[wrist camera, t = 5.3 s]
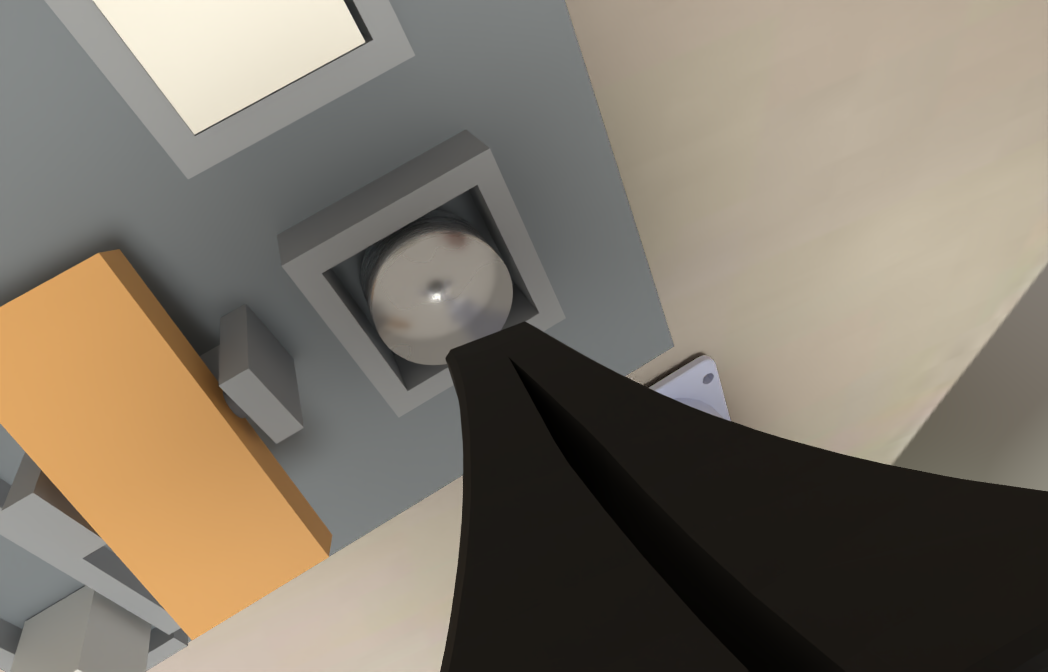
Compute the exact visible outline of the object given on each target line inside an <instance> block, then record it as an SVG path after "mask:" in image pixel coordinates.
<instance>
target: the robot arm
mask: <svg viewBox="0 0 1048 672" xmlns="http://www.w3.org/2000/svg"><path fill="white" fill-rule="evenodd" d="M445 359H446V362H447V365H448V369H449V372H450V375H451V378H452V381H453V384H454V387H455V390H456V394H457V397H458V401H459V407H460V417H461V429H462V441H463V506H462V524H461V537H460V548H459V558H458V567H457V574H456V582H455V589H454V597H453V604H452V611H451V617H450V623H449V629H448V635H447V641H446V646H445V651H444V656H443V661H442V666H441V670H440V672H1048V491H1041V490H1034V489H1027V488H1020V487H1013V486H1006V485H999V484H992V483H984V482H977V481H971V480H964V479H959V478H953V477H947V476H942V475H937V474H932V473H927V472H922V471H917V470H912V469H907V468H901V467H897V466H892V465H887V464H882V463H878V462H873V461H869V460H865V459H860V458H856V457H851V456H847V455H843V454H839V453H835V452H832V451H828V450H824V449H821V448H817V447H813V446H809V445H806V444H802V443H798V442H794V441H791V440H787V439H784V438H780V437H777V436H774V435H771V434H767V433H764V432H761V431H758V430H755V429H752V428H749V427H746V426H743V425H740V424H737V423H734V422H732V421H731V420H730V416H729V412H728V408H727V404H726V401H725V397H724V393H723V389H722V386H721V382H720V378H719V374H718V371H717V367H716V363H715V362H714V360H713V359H712V358H710V357H709V356H707V355H702V356H700V357H698V358H696V359H694V360H693V361H691V362H690V363H688V364H686V365H685V366H683V367H681V368H680V369H678V370H676V371H675V372H673V373H672V374H670V375H668V376H667V377H665V378H663V379H662V380H660V381H659V382H657V383H655V384H654V385H652V386H650V387H649V388H648V387H645V386H643V385H641V384H639V383H637V382H635V381H633V380H631V379H629V378H627V377H625V376H623V375H621V374H619V373H617V372H615V371H613V370H611V369H609V368H607V367H605V366H603V365H602V364H600V363H598V362H596V361H594V360H592V359H590V358H589V357H587V356H585V355H583V354H581V353H580V352H578V351H576V350H574V349H573V348H571V347H569V346H567V345H566V344H564V343H562V342H560V341H559V340H557V339H555V338H553V337H552V336H550V335H548V334H547V333H545V332H543V331H542V330H540V329H538V328H536V327H535V326H533V325H531V324H529V323H527V322H525V321H524V322H522V323H519V324H516V325H514V326H511V327H508V328H506V329H503V330H501V331H498V332H495V333H493V334H490V335H487V336H485V337H482V338H480V339H477V340H474V341H472V342H469V343H466V344H464V345H461V346H459V347H456V348H453V349H451V350H450V351H449V353H448V355H447V356H446V358H445ZM704 376H705V377H704Z"/></svg>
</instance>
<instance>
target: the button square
mask: <svg viewBox="0 0 1048 672" xmlns="http://www.w3.org/2000/svg"><path fill="white" fill-rule="evenodd" d="M93 1H94V3H95V4H96V5H97V7H98V8H99V9H100V10H101V12H102V13H103V14H104V16H105V17H106V18H107V20H108V21H109V22H110V24H111V25H112V26H113V28H114V29H115V30H116V32H117V33H118V34H119V36H120V37H121V38H122V40H123V41H124V42H125V44H126V45H127V46H128V47H129V49H130V50H131V51H132V53H133V54H134V55H135V57H136V58H137V59H138V61H139V62H140V63H141V65H142V66H143V67H144V69H145V70H146V71H147V73H148V74H149V75H150V77H151V78H152V79H153V81H154V82H155V83H156V84H157V86H158V87H159V88H160V90H161V91H162V92H163V94H164V95H165V96H166V98H167V99H168V100H169V102H170V103H171V104H172V106H173V107H174V108H175V110H176V111H177V112H178V114H179V115H180V116H181V117H182V119H183V120H184V121H185V123H186V124H187V125H188V127H189V128H190V129H191V131H192V132H193V133H194V135H195V134H197V133H198V132H200V131H202V130H204V129H206V128H208V127H210V126H211V125H213V124H215V123H217V122H219V121H221V120H223V119H224V118H226V117H228V116H230V115H232V114H234V113H235V112H237V111H239V110H241V109H243V108H245V107H247V106H248V105H250V104H252V103H254V102H256V101H258V100H260V99H261V98H263V97H265V96H267V95H269V94H271V93H273V92H274V91H276V90H278V89H280V88H282V87H284V86H285V85H287V84H289V83H291V82H293V81H295V80H297V79H298V78H300V77H302V76H304V75H306V74H308V73H310V72H311V71H313V70H315V69H317V68H319V67H321V66H322V65H324V64H326V63H328V62H330V61H332V60H334V59H335V58H337V57H339V56H341V55H343V54H345V53H347V52H348V51H350V50H352V49H354V48H356V47H358V46H359V45H361V44H363V43H365V40H364V38H363V37H362V35H361V33H360V31H359V29H358V27H357V25H356V23H355V21H354V19H353V17H352V15H351V14H350V12H349V10H348V8H347V6H346V4H345V2H344V0H93Z"/></svg>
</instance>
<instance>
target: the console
mask: <svg viewBox="0 0 1048 672" xmlns="http://www.w3.org/2000/svg"><path fill="white" fill-rule="evenodd" d="M344 2H345V4H346V6H347V8H348V10H349V12H350V14H351V15H352V17H353V19H354V21H355V23H356V25H357V27H358V29H359V31H360V33H361V35H362V37H363V38H364V40H365V43H363V44H361V45H359V46H358V47H356V48H354V49H352V50H350V51H348V52H347V53H345V54H343V55H341V56H339V57H337V58H335V59H334V60H332V61H330V62H328V63H326V64H324V65H322V66H321V67H319V68H317V69H315V70H313V71H311V72H310V73H308V74H306V75H304V76H302V77H300V78H298V79H297V80H295V81H293V82H291V83H289V84H287V85H285V86H284V87H282V88H280V89H278V90H276V91H274V92H273V93H271V94H269V95H267V96H265V97H263V98H261V99H260V100H258V101H256V102H254V103H252V104H250V105H248V106H247V107H245V108H243V109H241V110H239V111H237V112H235V113H234V114H232V115H230V116H228V117H226V118H224V119H223V120H221V121H219V122H217V123H215V124H213V125H211V126H210V127H208V128H206V129H204V130H202V131H200V132H198V133H197V134H195V135H194V133H193V132H192V131H191V129H190V128H189V127H188V125H187V124H186V123H185V121H184V120H183V119H182V117H181V116H180V115H179V114H178V112H177V111H176V110H175V108H174V107H173V106H172V104H171V103H170V102H169V100H168V99H167V98H166V96H165V95H164V94H163V92H162V91H161V90H160V88H159V87H158V86H157V84H156V83H155V82H154V81H153V79H152V78H151V77H150V75H149V74H148V73H147V71H146V70H145V69H144V67H143V66H142V65H141V63H140V62H139V61H138V59H137V58H136V57H135V55H134V54H133V53H132V51H131V50H130V49H129V47H128V46H127V45H126V44H125V42H124V41H123V40H122V38H121V37H120V36H119V34H118V33H117V32H116V30H115V29H114V28H113V26H112V25H111V24H110V22H109V21H108V20H107V18H106V17H105V16H104V14H103V13H102V12H101V10H100V9H99V8H98V7H97V5H96V4H95V3H94V1H93V0H0V307H1V306H3V305H5V304H6V303H8V302H10V301H12V300H14V299H16V298H17V297H19V296H21V295H23V294H25V293H26V292H28V291H30V290H32V289H34V288H36V287H37V286H39V285H41V284H43V283H45V282H46V281H48V280H50V279H52V278H54V277H56V276H57V275H59V274H61V273H63V272H65V271H66V270H68V269H70V268H72V267H74V266H76V265H77V264H79V263H81V262H83V261H85V260H87V259H88V258H90V257H92V256H94V255H96V254H97V253H100V252H106V251H111V250H117V249H120V250H121V252H122V253H123V254H124V256H125V257H126V258H127V260H128V261H129V262H130V264H131V265H132V267H133V268H134V269H135V271H136V272H137V273H138V275H139V276H140V277H141V279H142V280H143V281H144V283H145V284H146V285H147V287H148V288H149V289H150V291H151V292H152V293H153V295H154V296H155V297H156V299H157V300H158V301H159V303H160V304H161V305H162V307H163V308H164V309H165V311H166V312H167V314H168V315H169V316H170V318H171V319H172V320H173V322H174V323H175V324H176V326H177V327H178V328H179V330H180V331H181V332H182V334H183V335H184V336H185V338H186V339H187V340H188V342H189V343H190V344H191V346H192V347H193V348H194V350H195V351H196V352H197V354H198V355H199V356H200V358H201V359H202V361H203V362H204V363H205V365H206V366H207V367H208V369H209V370H210V371H211V373H212V374H213V375H214V377H215V378H216V379H217V381H218V382H219V387H220V388H221V389H222V390H223V391H224V392H225V393H226V394H227V395H228V396H229V397H230V398H231V399H232V400H233V401H234V402H235V403H236V404H237V405H238V406H239V407H240V408H241V409H242V410H243V411H244V412H245V413H246V414H247V415H248V416H247V417H245V418H246V420H247V421H248V422H249V424H250V425H251V426H252V428H253V429H254V430H255V432H256V433H257V434H258V436H259V437H260V438H261V440H262V441H263V442H264V444H265V445H266V446H267V448H268V449H269V450H270V452H271V453H272V454H273V456H274V457H275V459H276V460H277V461H278V463H279V464H280V465H281V467H282V468H283V469H284V471H285V472H286V473H287V475H288V476H289V477H290V479H291V480H292V481H293V483H294V484H295V485H296V487H297V488H298V489H299V491H300V492H301V493H302V495H303V496H304V497H305V499H306V500H307V501H308V503H309V504H310V506H311V507H312V508H313V510H314V511H315V512H316V514H317V515H318V516H319V518H320V519H321V520H322V522H323V523H324V524H325V526H326V527H327V528H328V530H329V531H330V532H331V534H332V541H331V547H330V553H329V556H331V555H333V554H334V553H336V552H337V551H339V550H341V549H342V548H344V547H346V546H347V545H349V544H351V543H352V542H354V541H356V540H357V539H359V538H360V537H362V536H364V535H365V534H367V533H369V532H370V531H372V530H374V529H375V528H377V527H378V526H380V525H382V524H383V523H385V522H387V521H388V520H390V519H392V518H393V517H395V516H397V515H398V514H400V513H401V512H403V511H405V510H406V509H408V508H410V507H411V506H413V505H415V504H416V503H418V502H420V501H421V500H423V499H424V498H426V497H428V496H429V495H431V494H433V493H434V492H436V491H438V490H439V489H441V488H442V487H444V486H446V485H447V484H449V483H451V482H452V481H454V480H456V479H457V478H459V477H461V476H462V475H463V441H462V429H461V417H460V407H459V401H458V397H457V394H456V390H455V387H454V384H453V381H452V378H451V375H450V372H449V369H448V365H447V364H444V365H424V364H418V363H414V362H411V361H408V360H406V359H404V358H402V357H400V356H399V355H397V354H396V353H394V352H393V351H392V350H391V349H390V348H389V347H388V346H387V345H386V344H385V343H384V342H383V340H382V339H381V337H380V335H379V333H378V331H377V329H376V326H375V323H374V321H373V318H372V315H371V313H370V310H369V307H368V305H367V302H366V299H365V297H364V294H363V291H362V287H361V279H360V272H361V264H362V260H363V257H364V254H365V251H366V250H367V248H368V247H369V246H371V245H372V244H374V243H376V242H378V241H379V240H381V239H383V238H385V237H386V236H388V235H390V234H392V233H393V232H395V231H397V230H399V229H400V228H402V227H404V226H406V225H407V224H409V223H411V222H413V221H415V220H416V219H418V218H420V217H422V216H423V215H425V214H427V213H429V212H430V211H432V210H440V211H446V212H449V213H452V214H455V215H457V216H459V217H461V218H463V219H465V220H466V221H468V222H469V223H470V224H471V225H472V226H473V227H475V229H476V230H477V231H478V232H479V233H480V234H481V236H482V237H483V238H484V239H485V240H486V242H487V243H488V244H489V245H490V246H491V247H492V249H493V250H494V251H495V252H496V253H497V254H498V256H499V257H500V258H501V259H502V261H503V262H504V264H505V265H506V267H507V269H508V271H509V274H510V277H511V281H512V288H513V299H512V305H511V309H510V312H509V315H508V317H507V320H506V322H505V324H504V325H503V327H502V329H501V330H503V329H506V328H508V327H511V326H514V325H516V324H519V323H522V322H524V321H525V322H527V323H529V324H531V325H533V326H535V327H536V328H538V329H540V330H542V331H543V332H545V333H547V334H548V335H550V336H552V337H553V338H555V339H557V340H559V341H560V342H562V343H564V344H566V345H567V346H569V347H571V348H573V349H574V350H576V351H578V352H580V353H581V354H583V355H585V356H587V357H589V358H590V359H592V360H594V361H596V362H598V363H600V364H602V365H603V366H605V367H607V368H609V369H611V370H613V371H615V372H617V373H619V374H621V375H623V376H626V375H628V374H630V373H631V372H633V371H634V370H636V369H638V368H639V367H641V366H643V365H644V364H646V363H648V362H649V361H651V360H652V359H654V358H656V357H657V356H659V355H661V354H662V353H664V352H666V351H667V350H669V349H671V348H672V347H674V344H673V341H672V338H671V334H670V331H669V328H668V325H667V322H666V319H665V315H664V312H663V309H662V306H661V303H660V300H659V297H658V293H657V290H656V287H655V284H654V281H653V278H652V274H651V271H650V268H649V265H648V262H647V259H646V255H645V252H644V249H643V246H642V243H641V240H640V237H639V233H638V230H637V227H636V224H635V221H634V218H633V214H632V211H631V208H630V205H629V202H628V199H627V196H626V192H625V189H624V186H623V183H622V180H621V177H620V173H619V170H618V167H617V164H616V161H615V158H614V154H613V151H612V148H611V145H610V142H609V139H608V136H607V132H606V129H605V126H604V123H603V120H602V117H601V113H600V110H599V107H598V104H597V101H596V98H595V94H594V91H593V88H592V85H591V82H590V79H589V76H588V72H587V69H586V66H585V63H584V60H583V57H582V53H581V50H580V47H579V44H578V41H577V38H576V35H575V31H574V28H573V25H572V22H571V19H570V16H569V12H568V9H567V6H566V3H565V0H344ZM501 330H500V331H501ZM84 586H88V587H89V588H91V589H93V590H94V591H96V592H98V593H99V594H101V595H103V596H104V597H106V598H108V599H110V600H111V601H113V602H115V603H116V604H118V605H120V606H121V607H123V608H125V609H126V610H128V611H130V612H131V613H133V614H135V615H136V616H138V617H140V618H141V619H143V620H145V621H147V622H148V623H150V624H152V625H151V633H150V642H149V650H148V659H147V667H146V671H147V670H149V669H150V668H152V667H154V666H155V665H157V664H159V663H160V662H162V661H164V660H165V659H167V658H169V657H170V656H172V655H173V654H175V653H177V652H178V651H180V650H182V649H183V648H185V647H187V646H188V642H190V641H191V639H190V638H189V636H188V635H187V634H186V633H185V632H184V631H183V630H182V628H181V627H180V626H179V625H178V624H177V623H176V622H175V621H174V619H173V618H172V617H171V616H170V615H169V614H168V613H167V612H166V610H165V609H164V608H163V607H162V606H161V605H160V604H159V602H158V601H157V600H156V599H155V598H154V597H153V596H152V595H151V593H150V592H149V591H148V590H147V589H146V588H145V587H144V585H143V584H142V583H141V582H140V581H139V580H138V579H137V578H136V576H135V575H134V574H133V573H132V572H131V571H130V570H129V568H128V567H127V566H126V565H125V564H124V563H123V562H122V561H121V559H120V558H119V557H118V556H117V555H116V554H115V553H114V552H113V550H112V549H111V548H110V547H109V546H108V545H107V544H106V542H105V541H104V540H103V539H102V538H101V537H100V536H99V535H98V533H97V532H96V531H95V530H94V529H93V528H92V527H91V525H90V524H89V523H88V522H87V521H86V520H85V519H84V518H83V516H82V515H81V514H80V513H79V512H78V511H77V510H76V509H75V507H74V506H73V505H72V504H71V503H70V502H69V501H68V499H67V498H66V497H65V496H64V495H63V494H62V493H61V492H60V490H59V489H58V488H57V487H56V486H55V485H54V484H53V482H52V481H51V480H50V479H49V478H48V477H47V476H46V475H45V473H44V472H43V471H42V470H41V469H40V468H39V467H38V465H37V464H36V463H35V462H34V461H33V460H32V459H31V458H30V456H29V455H28V454H27V453H26V452H25V451H24V450H23V449H22V447H21V446H20V445H19V444H18V443H17V442H16V441H15V439H14V438H13V437H12V436H11V435H10V434H9V433H8V432H7V430H6V429H5V428H4V427H3V426H2V425H1V424H0V669H1V670H3V671H5V672H10V670H11V666H12V663H13V660H14V657H15V653H16V650H17V647H18V643H19V640H20V637H21V634H22V630H23V627H24V624H25V621H27V620H29V619H30V618H32V617H34V616H35V615H37V614H39V613H40V612H42V611H44V610H46V609H47V608H49V607H51V606H52V605H54V604H56V603H57V602H59V601H61V600H62V599H64V598H66V597H67V596H69V595H71V594H72V593H74V592H76V591H78V590H79V589H81V588H83V587H84Z"/></svg>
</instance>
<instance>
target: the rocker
mask: <svg viewBox="0 0 1048 672" xmlns="http://www.w3.org/2000/svg"><path fill="white" fill-rule="evenodd" d="M247 416H248V415H247V414H246V413H245V412H244V411H243V410H242V409H241V408H240V407H239V406H238V405H237V404H236V403H235V402H234V401H233V400H232V399H231V398H230V397H229V396H228V395H227V394H226V393H225V392H224V391H223V390H222V389H221V388H220V387H219V382H218V381H217V379H216V378H215V377H214V375H213V374H212V373H211V371H210V370H209V369H208V367H207V366H206V365H205V363H204V362H203V361H202V359H201V358H200V356H199V355H198V354H197V352H196V351H195V350H194V348H193V347H192V346H191V344H190V343H189V342H188V340H187V339H186V338H185V336H184V335H183V334H182V332H181V331H180V330H179V328H178V327H177V326H176V324H175V323H174V322H173V320H172V319H171V318H170V316H169V315H168V314H167V312H166V311H165V309H164V308H163V307H162V305H161V304H160V303H159V301H158V300H157V299H156V297H155V296H154V295H153V293H152V292H151V291H150V289H149V288H148V287H147V285H146V284H145V283H144V281H143V280H142V279H141V277H140V276H139V275H138V273H137V272H136V271H135V269H134V268H133V267H132V265H131V264H130V262H129V261H128V260H127V258H126V257H125V256H124V254H123V253H122V252H121V250H120V249H117V250H111V251H106V252H100V253H97V254H96V255H94V256H92V257H90V258H88V259H87V260H85V261H83V262H81V263H79V264H77V265H76V266H74V267H72V268H70V269H68V270H66V271H65V272H63V273H61V274H59V275H57V276H56V277H54V278H52V279H50V280H48V281H46V282H45V283H43V284H41V285H39V286H37V287H36V288H34V289H32V290H30V291H28V292H26V293H25V294H23V295H21V296H19V297H17V298H16V299H14V300H12V301H10V302H8V303H6V304H5V305H3V306H1V307H0V424H1V425H2V426H3V427H4V428H5V429H6V430H7V432H8V433H9V434H10V435H11V436H12V437H13V438H14V439H15V441H16V442H17V443H18V444H19V445H20V446H21V447H22V449H23V450H24V451H25V452H26V453H27V454H28V455H29V456H30V458H31V459H32V460H33V461H34V462H35V463H36V464H37V465H38V467H39V468H40V469H41V470H42V471H43V472H44V473H45V475H46V476H47V477H48V478H49V479H50V480H51V481H52V482H53V484H54V485H55V486H56V487H57V488H58V489H59V490H60V492H61V493H62V494H63V495H64V496H65V497H66V498H67V499H68V501H69V502H70V503H71V504H72V505H73V506H74V507H75V509H76V510H77V511H78V512H79V513H80V514H81V515H82V516H83V518H84V519H85V520H86V521H87V522H88V523H89V524H90V525H91V527H92V528H93V529H94V530H95V531H96V532H97V533H98V535H99V536H100V537H101V538H102V539H103V540H104V541H105V542H106V544H107V545H108V546H109V547H110V548H111V549H112V550H113V552H114V553H115V554H116V555H117V556H118V557H119V558H120V559H121V561H122V562H123V563H124V564H125V565H126V566H127V567H128V568H129V570H130V571H131V572H132V573H133V574H134V575H135V576H136V578H137V579H138V580H139V581H140V582H141V583H142V584H143V585H144V587H145V588H146V589H147V590H148V591H149V592H150V593H151V595H152V596H153V597H154V598H155V599H156V600H157V601H158V602H159V604H160V605H161V606H162V607H163V608H164V609H165V610H166V612H167V613H168V614H169V615H170V616H171V617H172V618H173V619H174V621H175V622H176V623H177V624H178V625H179V626H180V627H181V628H182V630H183V631H184V632H185V633H186V634H187V635H188V636H189V638H190V639H191V640H194V639H195V638H197V637H198V636H200V635H202V634H203V633H205V632H207V631H208V630H210V629H212V628H213V627H215V626H217V625H218V624H220V623H221V622H223V621H225V620H226V619H228V618H230V617H231V616H233V615H235V614H236V613H238V612H239V611H241V610H243V609H244V608H246V607H248V606H249V605H251V604H253V603H254V602H256V601H258V600H259V599H261V598H262V597H264V596H266V595H267V594H269V593H271V592H272V591H274V590H276V589H277V588H279V587H280V586H282V585H284V584H285V583H287V582H289V581H290V580H292V579H294V578H295V577H297V576H299V575H300V574H302V573H303V572H305V571H307V570H308V569H310V568H312V567H313V566H315V565H317V564H318V563H320V562H321V561H323V560H325V559H326V558H328V557H329V553H330V547H331V541H332V534H331V532H330V531H329V530H328V528H327V527H326V526H325V524H324V523H323V522H322V520H321V519H320V518H319V516H318V515H317V514H316V512H315V511H314V510H313V508H312V507H311V506H310V504H309V503H308V501H307V500H306V499H305V497H304V496H303V495H302V493H301V492H300V491H299V489H298V488H297V487H296V485H295V484H294V483H293V481H292V480H291V479H290V477H289V476H288V475H287V473H286V472H285V471H284V469H283V468H282V467H281V465H280V464H279V463H278V461H277V460H276V459H275V457H274V456H273V454H272V453H271V452H270V450H269V449H268V448H267V446H266V445H265V444H264V442H263V441H262V440H261V438H260V437H259V436H258V434H257V433H256V432H255V430H254V429H253V428H252V426H251V425H250V424H249V422H248V421H247V420H246V418H245V417H247Z"/></svg>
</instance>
